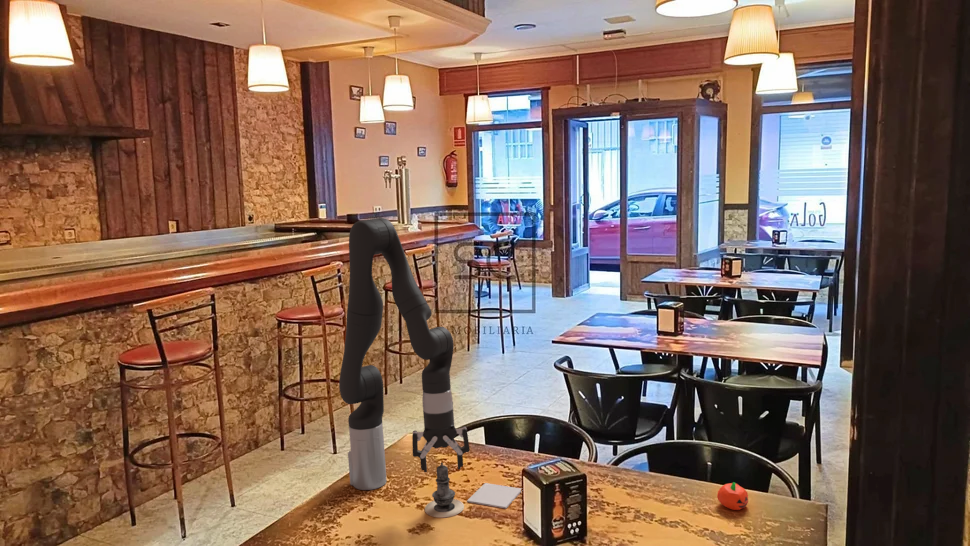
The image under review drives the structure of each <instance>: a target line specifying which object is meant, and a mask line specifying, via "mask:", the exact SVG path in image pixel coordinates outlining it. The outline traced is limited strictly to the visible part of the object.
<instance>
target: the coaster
mask: <svg viewBox="0 0 970 546" xmlns="http://www.w3.org/2000/svg"><path fill="white" fill-rule="evenodd" d="M451 503H453V504H454V505H455V508H454V509H453V510H451V511H448V512H438V511H436V510H435V509H434V506H435V505H436V504H437V503H435V501H434V500H432V501H429V503H427V504H426V505H425V508H424V511H425V513H426V514H427V515H428V516H429V517H433V518H437V519H438V518H440V519H443V518H451V517H455V516H457V515H459V514H460V513H462V512H463V510H464V509H465V505H464V503H463V502H462V501H461V500H459V499H456V498H454V499H453V501H452V502H451Z"/></svg>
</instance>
